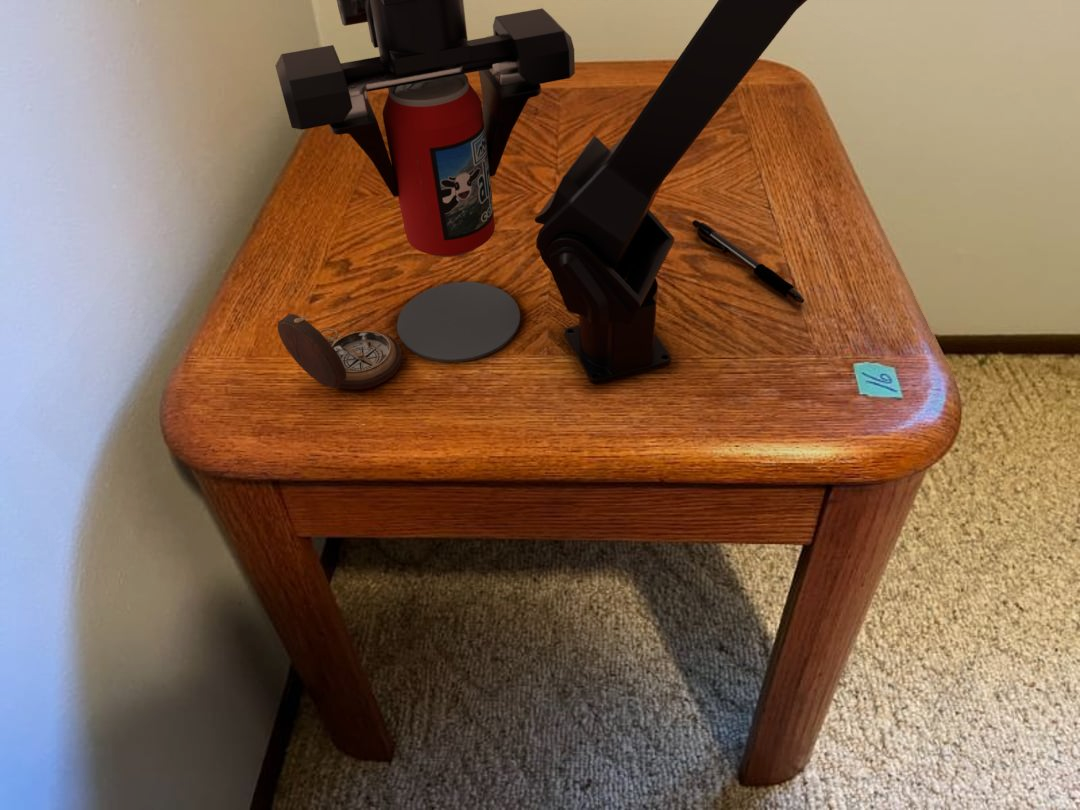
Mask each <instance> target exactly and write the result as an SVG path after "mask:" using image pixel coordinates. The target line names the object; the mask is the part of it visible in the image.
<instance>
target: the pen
mask: <svg viewBox="0 0 1080 810" xmlns="http://www.w3.org/2000/svg"><path fill="white" fill-rule="evenodd" d="M691 224H692V226H693V227H694V228H695V230H696V231H695V233H696V236H697V237H698V239H699V240H700V241H701V242H703V243H704V244H706V245H708V246H710V247H712V248H715V249H718V250H721V251H722V253H723V254H728V255H729V256H730V257H732V258H733V259H735V260H736V261H737V262H738V263H740V264H741V265H743V266H744V267H746V268H747V269H748V270H750V272H752V273H753V275H754V276H756V277H757V278H758V279H760V281H762V282H763V283H765V284H766V285H767V286H769V287H771V288H772V289H773V290H775V291H776V292H778V293H779V294H780V295H782V296H783V297H784V298H789V299H790V300H792V301H793V302H795V303H800V304H803V303H805V299H804V297H803V296H802V295H801V293H800V292H799V291H798V290H796V288H795V286H794V285H793V284H791V283H790V282H788V281H787V280H786V279H784V278H782V277H781V276H780V275H779V274H778V273H776V272H775V271H774V270H773V269H771V268H770V267H768V266H766V265H765V264H764V263H760V262H759V261H758V260H757V259H755V258H753V257H752V256H750V255H749V254H748V253H746V252H745V251H743V250H742V249H741V248H740V247H738V246H736V245H735V244H734V243H732V242H731V241H730V240H729V239H727V238H726V237H724V236H723V235H721V234H720V233H719V232H717V231H716V230H715V229H714V228H713V227H711V226H710V225H709V224H707V223H705V222H700V221H699V220H697V219H694V220H692V222H691Z"/></svg>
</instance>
